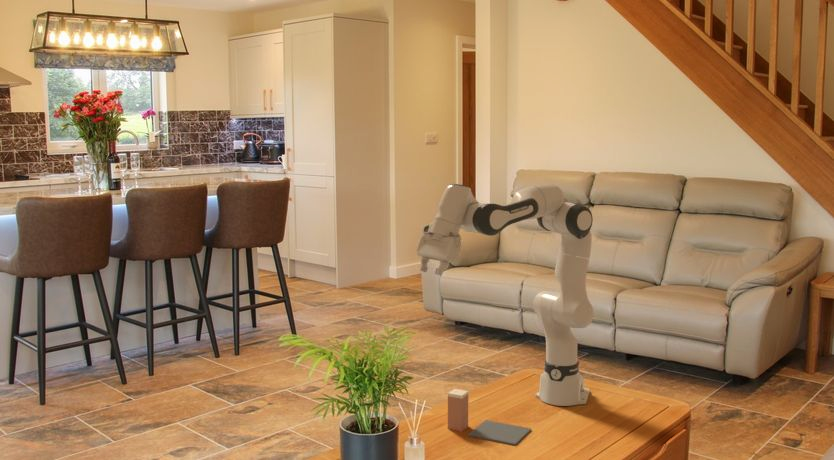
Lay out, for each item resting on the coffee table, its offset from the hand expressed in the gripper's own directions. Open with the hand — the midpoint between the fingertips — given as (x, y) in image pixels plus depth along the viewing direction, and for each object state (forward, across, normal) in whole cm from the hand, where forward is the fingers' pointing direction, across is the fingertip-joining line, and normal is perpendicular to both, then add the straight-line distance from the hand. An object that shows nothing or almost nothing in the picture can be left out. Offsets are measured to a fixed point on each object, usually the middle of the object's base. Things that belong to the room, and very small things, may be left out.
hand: (430, 273), depth 249 cm
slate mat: (+41, -10, -38) cm, 57 cm away
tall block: (+44, +1, -30) cm, 53 cm away
